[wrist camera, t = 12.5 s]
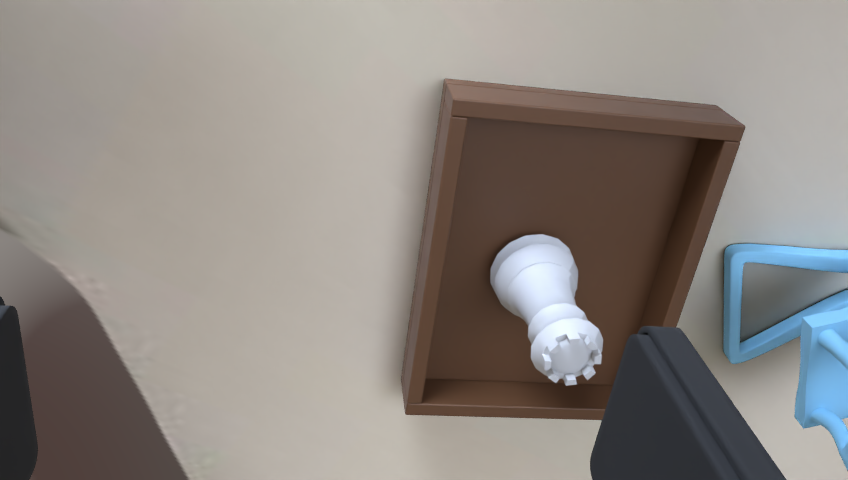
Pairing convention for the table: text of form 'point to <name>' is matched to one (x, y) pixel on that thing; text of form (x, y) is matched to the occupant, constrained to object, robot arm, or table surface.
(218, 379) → the table surface
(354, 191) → the table surface
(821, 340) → the chair
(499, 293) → the rook chess piece
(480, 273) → the tray
